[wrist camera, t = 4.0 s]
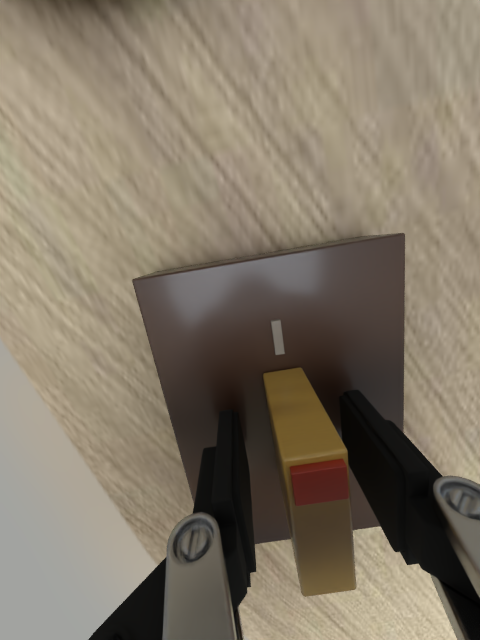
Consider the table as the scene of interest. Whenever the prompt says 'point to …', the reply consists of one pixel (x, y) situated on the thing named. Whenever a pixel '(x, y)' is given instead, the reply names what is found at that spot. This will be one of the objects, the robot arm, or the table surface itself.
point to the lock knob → (312, 483)
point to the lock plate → (277, 349)
